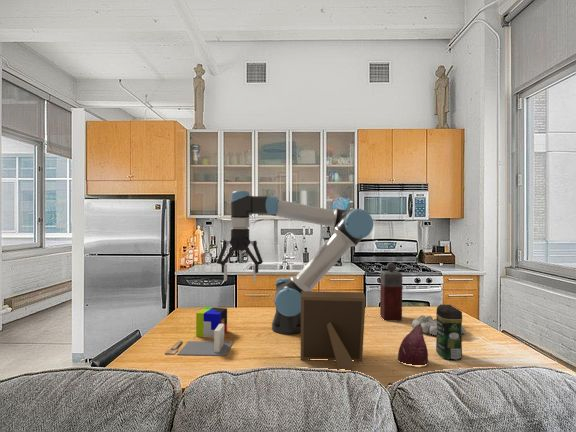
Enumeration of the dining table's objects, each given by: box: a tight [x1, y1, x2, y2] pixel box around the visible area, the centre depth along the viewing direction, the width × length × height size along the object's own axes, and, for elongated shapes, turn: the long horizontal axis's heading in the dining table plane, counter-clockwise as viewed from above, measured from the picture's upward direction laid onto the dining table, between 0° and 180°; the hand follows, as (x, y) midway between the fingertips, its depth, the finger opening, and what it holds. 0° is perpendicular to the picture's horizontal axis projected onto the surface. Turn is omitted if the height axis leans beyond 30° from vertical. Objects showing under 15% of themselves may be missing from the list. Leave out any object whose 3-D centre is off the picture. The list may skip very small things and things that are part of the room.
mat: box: [176, 340, 234, 357], centre depth 143 cm, size 18×14×1 cm
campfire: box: [411, 315, 467, 336], centre depth 166 cm, size 22×21×6 cm
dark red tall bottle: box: [379, 262, 403, 321], centre depth 187 cm, size 9×11×28 cm
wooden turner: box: [164, 340, 183, 356], centre depth 143 cm, size 4×12×1 cm, turn 179°
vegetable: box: [397, 324, 429, 365], centre depth 132 cm, size 10×10×15 cm
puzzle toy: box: [195, 306, 228, 339], centre depth 161 cm, size 10×10×10 cm
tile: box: [213, 324, 225, 352], centre depth 142 cm, size 2×9×8 cm, turn 179°
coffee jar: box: [435, 304, 463, 360], centre depth 137 cm, size 10×8×19 cm
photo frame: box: [300, 291, 367, 370], centre depth 128 cm, size 15×22×25 cm
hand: (239, 280), depth 154 cm, fingers open, 11 cm apart
